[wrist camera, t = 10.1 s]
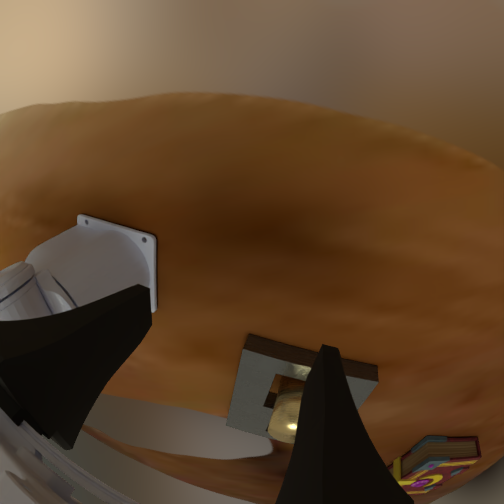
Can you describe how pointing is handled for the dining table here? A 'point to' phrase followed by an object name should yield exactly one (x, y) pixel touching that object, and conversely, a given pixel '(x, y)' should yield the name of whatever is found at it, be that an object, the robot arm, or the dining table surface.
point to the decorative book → (434, 462)
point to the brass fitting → (286, 409)
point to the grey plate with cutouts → (288, 364)
